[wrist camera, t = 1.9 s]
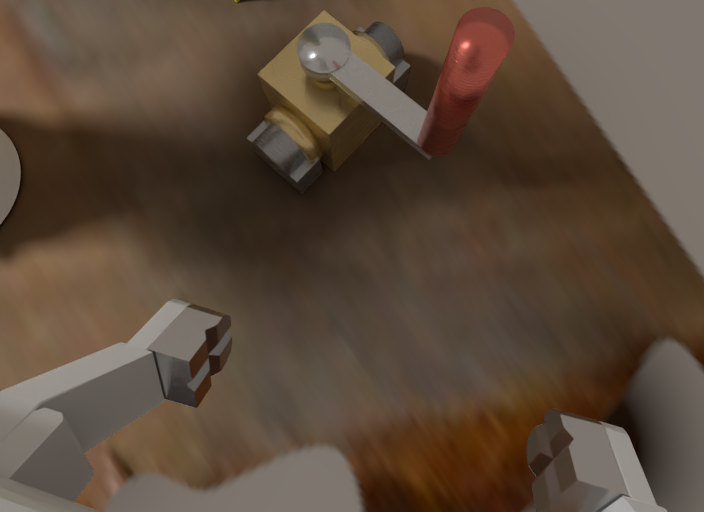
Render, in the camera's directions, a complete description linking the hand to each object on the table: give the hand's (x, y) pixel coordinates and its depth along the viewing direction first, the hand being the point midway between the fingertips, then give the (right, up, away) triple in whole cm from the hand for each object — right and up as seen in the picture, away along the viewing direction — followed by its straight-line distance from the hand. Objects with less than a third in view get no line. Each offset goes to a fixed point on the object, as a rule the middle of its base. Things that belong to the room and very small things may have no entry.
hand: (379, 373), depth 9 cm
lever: (+1, +15, +19) cm, 24 cm away
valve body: (-3, +17, +28) cm, 33 cm away
